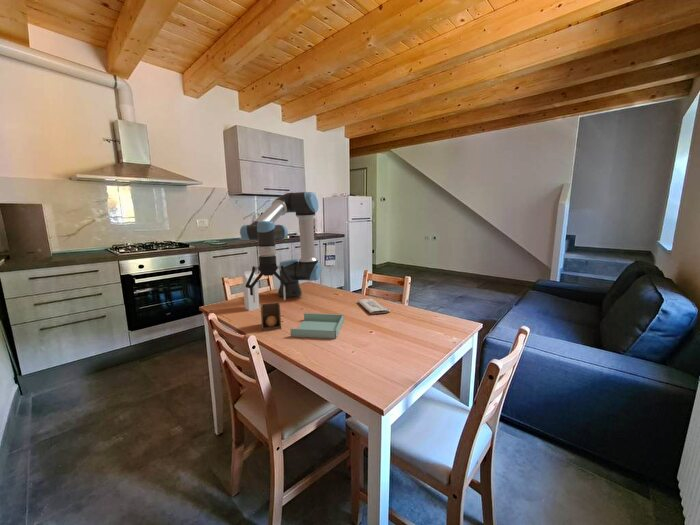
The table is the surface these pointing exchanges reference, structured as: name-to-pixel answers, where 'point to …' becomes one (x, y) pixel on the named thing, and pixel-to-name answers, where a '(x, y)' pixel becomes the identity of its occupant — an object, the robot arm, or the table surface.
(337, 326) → the tray
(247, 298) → the milk
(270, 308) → the sleeve
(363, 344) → the table surface
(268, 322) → the ball
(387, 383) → the table surface
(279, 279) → the robot arm
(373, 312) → the newspaper
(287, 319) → the table surface
